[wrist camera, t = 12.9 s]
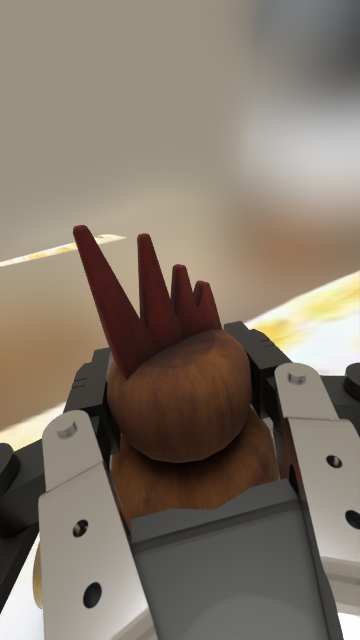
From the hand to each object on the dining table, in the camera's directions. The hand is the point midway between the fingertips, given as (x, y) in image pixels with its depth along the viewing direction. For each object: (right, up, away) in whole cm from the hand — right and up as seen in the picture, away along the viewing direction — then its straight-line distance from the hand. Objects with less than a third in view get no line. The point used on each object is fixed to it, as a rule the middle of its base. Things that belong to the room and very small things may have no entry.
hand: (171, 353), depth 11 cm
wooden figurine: (+2, -9, +2) cm, 10 cm away
